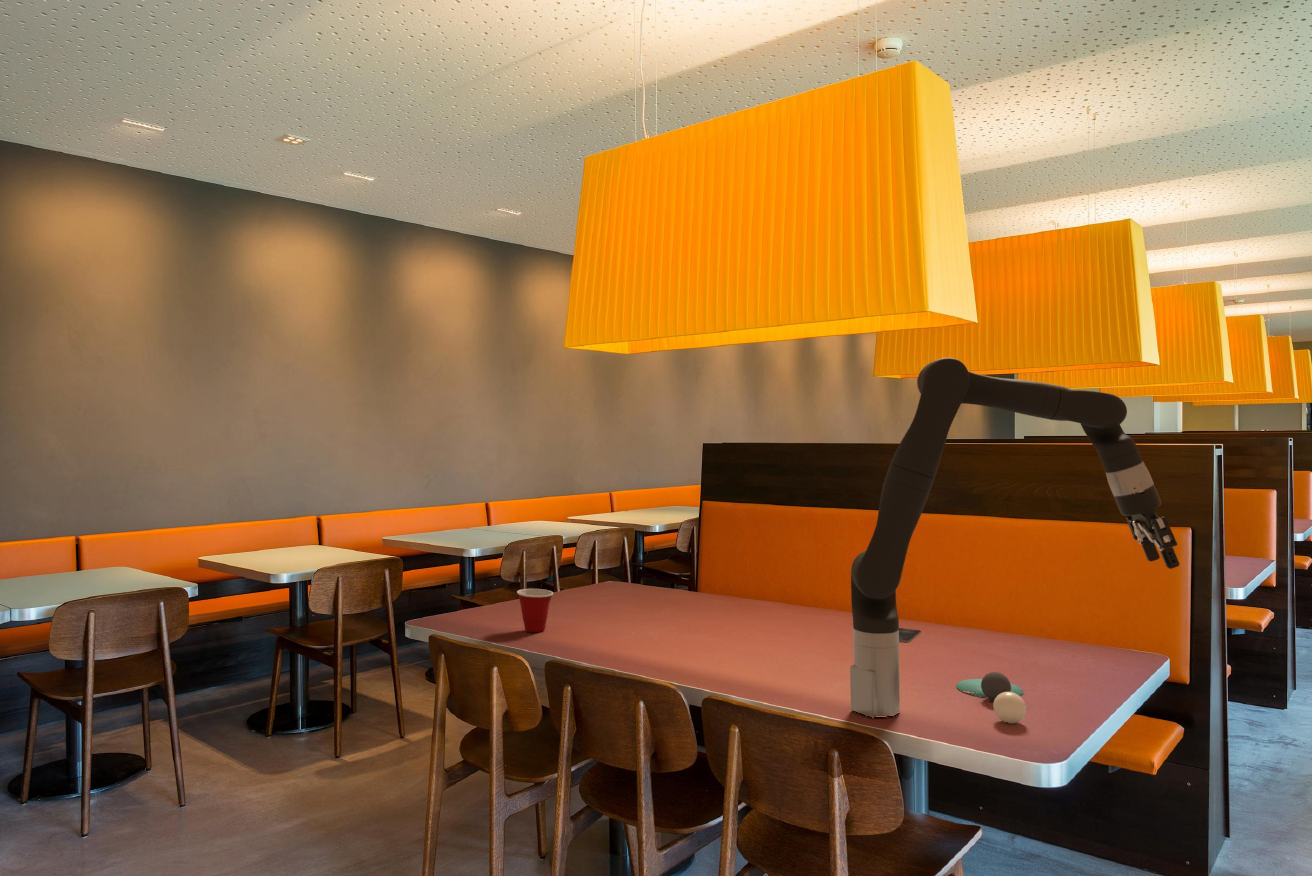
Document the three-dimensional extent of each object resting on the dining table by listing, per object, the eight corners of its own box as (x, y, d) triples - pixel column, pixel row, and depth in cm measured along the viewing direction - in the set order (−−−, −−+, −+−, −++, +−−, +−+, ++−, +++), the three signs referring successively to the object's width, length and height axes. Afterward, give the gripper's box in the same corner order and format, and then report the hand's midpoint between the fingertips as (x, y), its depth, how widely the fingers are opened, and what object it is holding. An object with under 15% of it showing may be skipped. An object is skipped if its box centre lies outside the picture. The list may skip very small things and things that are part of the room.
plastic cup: (551, 635, 245) (550, 594, 245) (514, 635, 245) (513, 594, 245) (556, 626, 256) (555, 587, 256) (521, 626, 256) (520, 587, 256)
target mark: (997, 703, 179) (997, 702, 179) (942, 686, 191) (942, 686, 191) (1036, 691, 187) (1036, 690, 187) (981, 676, 198) (981, 675, 198)
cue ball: (1014, 730, 163) (1013, 699, 163) (987, 721, 168) (986, 691, 168) (1032, 723, 166) (1032, 693, 166) (1005, 715, 171) (1005, 686, 171)
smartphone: (922, 630, 243) (908, 641, 230) (922, 633, 243) (908, 644, 230) (896, 627, 247) (881, 638, 234) (896, 630, 247) (881, 641, 234)
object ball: (1000, 706, 176) (999, 678, 176) (975, 699, 182) (975, 671, 181) (1017, 701, 180) (1016, 673, 180) (992, 694, 185) (992, 667, 185)
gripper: (1100, 491, 176) (1130, 564, 175) (1128, 497, 162) (1161, 576, 161) (1136, 478, 175) (1166, 551, 174) (1167, 483, 161) (1200, 563, 160)
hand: (1163, 563), depth 168 cm, fingers open, 8 cm apart
